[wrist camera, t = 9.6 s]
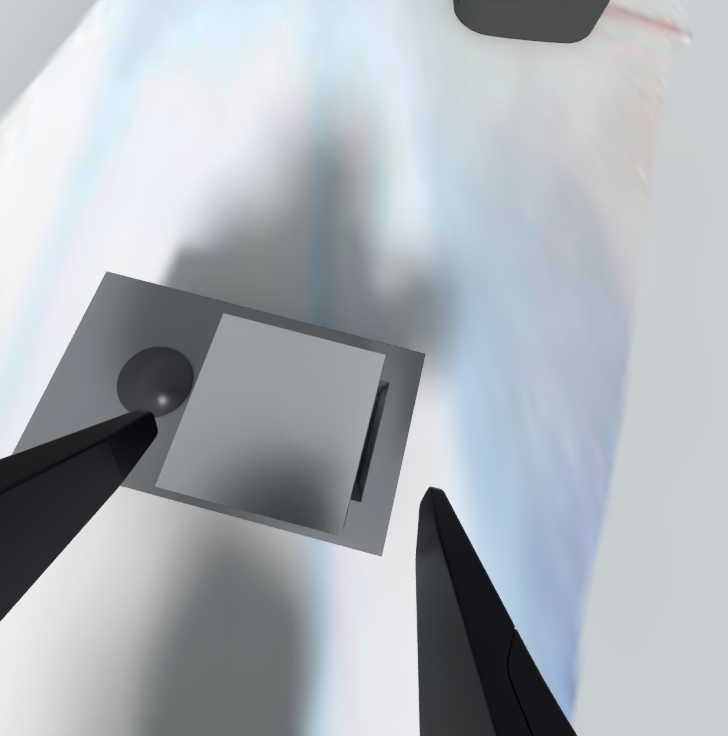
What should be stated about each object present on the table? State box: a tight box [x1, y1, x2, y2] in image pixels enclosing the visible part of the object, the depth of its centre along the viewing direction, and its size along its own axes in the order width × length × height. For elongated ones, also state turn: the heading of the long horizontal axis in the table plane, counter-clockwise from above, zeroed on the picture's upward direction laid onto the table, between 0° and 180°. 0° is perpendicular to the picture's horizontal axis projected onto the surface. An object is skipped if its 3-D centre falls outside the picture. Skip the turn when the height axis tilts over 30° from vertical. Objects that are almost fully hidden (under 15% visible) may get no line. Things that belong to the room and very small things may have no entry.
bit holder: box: [12, 272, 425, 556], centre depth 16 cm, size 10×18×5 cm, turn 75°
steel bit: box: [155, 313, 386, 536], centre depth 13 cm, size 4×4×13 cm
